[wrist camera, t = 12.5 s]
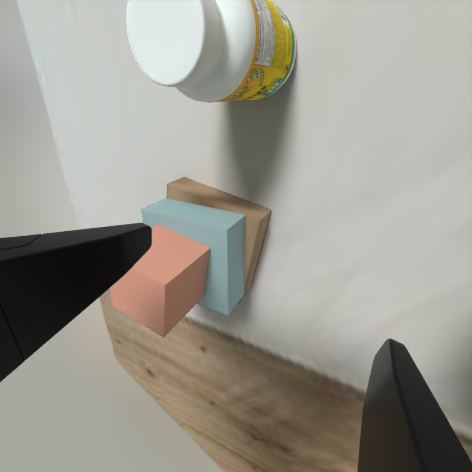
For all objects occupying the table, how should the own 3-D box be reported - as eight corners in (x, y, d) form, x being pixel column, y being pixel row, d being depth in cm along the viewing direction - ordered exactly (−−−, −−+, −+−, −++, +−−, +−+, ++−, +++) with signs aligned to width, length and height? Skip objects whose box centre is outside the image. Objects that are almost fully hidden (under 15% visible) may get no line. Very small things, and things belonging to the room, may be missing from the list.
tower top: (245, 214, 21) (226, 230, 19) (244, 294, 25) (228, 315, 22) (165, 198, 24) (141, 209, 22) (174, 271, 28) (154, 287, 26)
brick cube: (210, 247, 20) (165, 285, 16) (203, 295, 23) (163, 337, 19) (158, 223, 22) (105, 252, 18) (157, 270, 24) (112, 304, 20)
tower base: (273, 207, 23) (259, 220, 21) (252, 284, 28) (239, 302, 25) (187, 175, 26) (167, 183, 23) (182, 250, 31) (164, 263, 28)
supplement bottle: (301, -5, 16) (215, -94, 8) (296, 98, 18) (226, 101, 11) (221, 13, 18) (99, -45, 11) (226, 102, 20) (129, 106, 13)
